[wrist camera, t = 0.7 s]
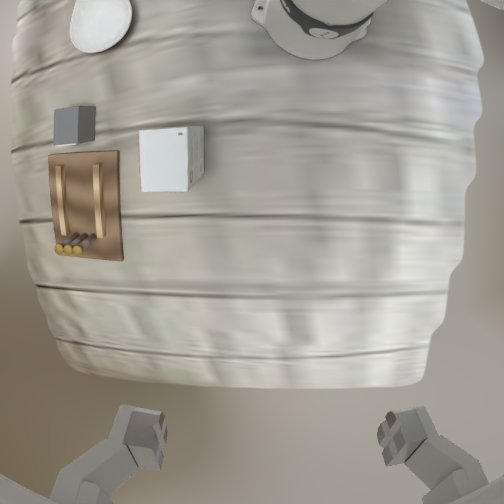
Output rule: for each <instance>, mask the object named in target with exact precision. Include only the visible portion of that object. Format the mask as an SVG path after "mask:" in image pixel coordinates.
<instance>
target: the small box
mask: <svg viewBox="0 0 504 504" xmlns="http://www.w3.org/2000/svg"><path fill="white" fill-rule="evenodd" d="M139 163H140V182H141V192H188V191H189V190H190V188H191V187H192V186H193V185H194V184H195V183H196V182H197V181H198V180H199V179H200V178H201V176H202V175H203V174H204V127H203V126H179V127H164V128H153V129H145V130H139Z"/></svg>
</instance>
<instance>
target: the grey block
mask: <svg viewBox="0 0 504 504" xmlns="http://www.w3.org/2000/svg"><path fill="white" fill-rule="evenodd" d="M95 113H96V107H90V106H76V107H68V108H62V109H56V110H54V145H57V146H65V145H77V144H79V143H82V142H88V141H94V140H95Z"/></svg>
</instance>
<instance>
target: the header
mask: <svg viewBox="0 0 504 504" xmlns="http://www.w3.org/2000/svg"><path fill="white" fill-rule="evenodd" d="M48 163H49V183H50V196H51V207H52V216H53V224H54V232H55V239H56V246H55V252H56V253H57V254H58V255H61V256H71V257H81V258H91V259H101V260H112V261H123V260H124V255H123V243H122V230H121V213H120V185H119V151H96V152H77V153H63V154H51V155H48Z"/></svg>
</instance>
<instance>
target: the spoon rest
mask: <svg viewBox="0 0 504 504" xmlns="http://www.w3.org/2000/svg"><path fill="white" fill-rule="evenodd" d="M131 20H132V6H131V3H130V1H129V0H76V3H75V6H74V10H73V14H72V18H71V24H70V37H71V40H72V43H73V45H74V46H75V47H76V48H77V49H78V50H80V51H82V52H85V53H97V52H101V51H104V50H106V49H108V48H110V47H112V46H113V45H115V44H116V43H117V42H119V41H120V40H121V39H122V38H123V36H124V35H125V34H126V32H127V30H128V29H129V26H130V24H131Z"/></svg>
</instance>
